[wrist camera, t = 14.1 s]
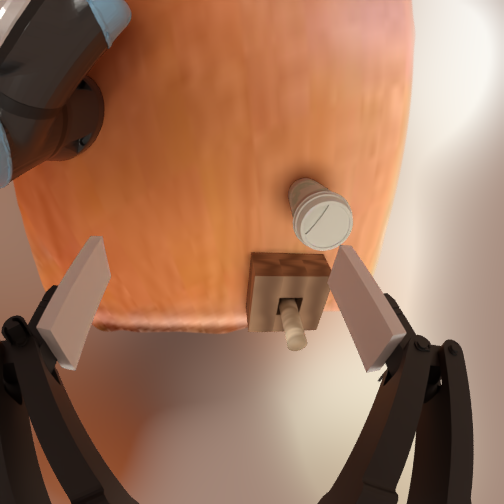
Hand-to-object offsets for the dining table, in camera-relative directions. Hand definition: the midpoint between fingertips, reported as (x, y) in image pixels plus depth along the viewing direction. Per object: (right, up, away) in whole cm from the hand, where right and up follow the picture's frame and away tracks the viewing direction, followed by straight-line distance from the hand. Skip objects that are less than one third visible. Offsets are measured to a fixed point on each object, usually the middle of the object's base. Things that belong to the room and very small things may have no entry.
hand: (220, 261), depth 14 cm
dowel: (+8, -7, +39) cm, 40 cm away
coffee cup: (+11, +10, +30) cm, 34 cm away
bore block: (+8, -6, +40) cm, 41 cm away
